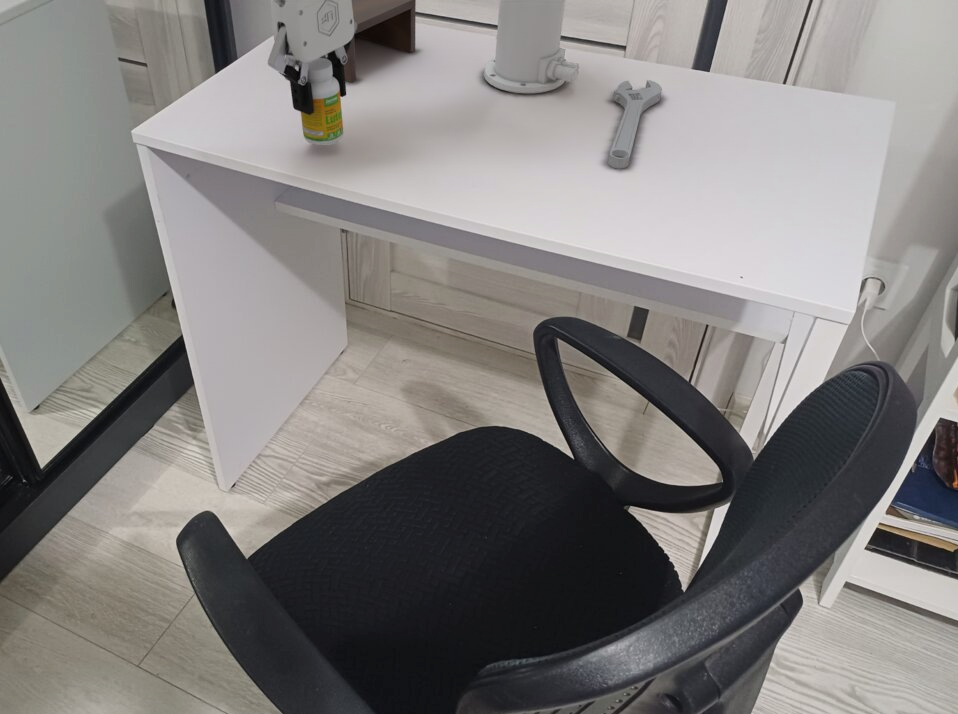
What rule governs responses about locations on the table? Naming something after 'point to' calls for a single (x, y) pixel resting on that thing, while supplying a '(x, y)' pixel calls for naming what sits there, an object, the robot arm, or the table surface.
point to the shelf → (381, 27)
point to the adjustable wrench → (630, 118)
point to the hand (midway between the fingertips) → (320, 101)
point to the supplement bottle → (323, 105)
